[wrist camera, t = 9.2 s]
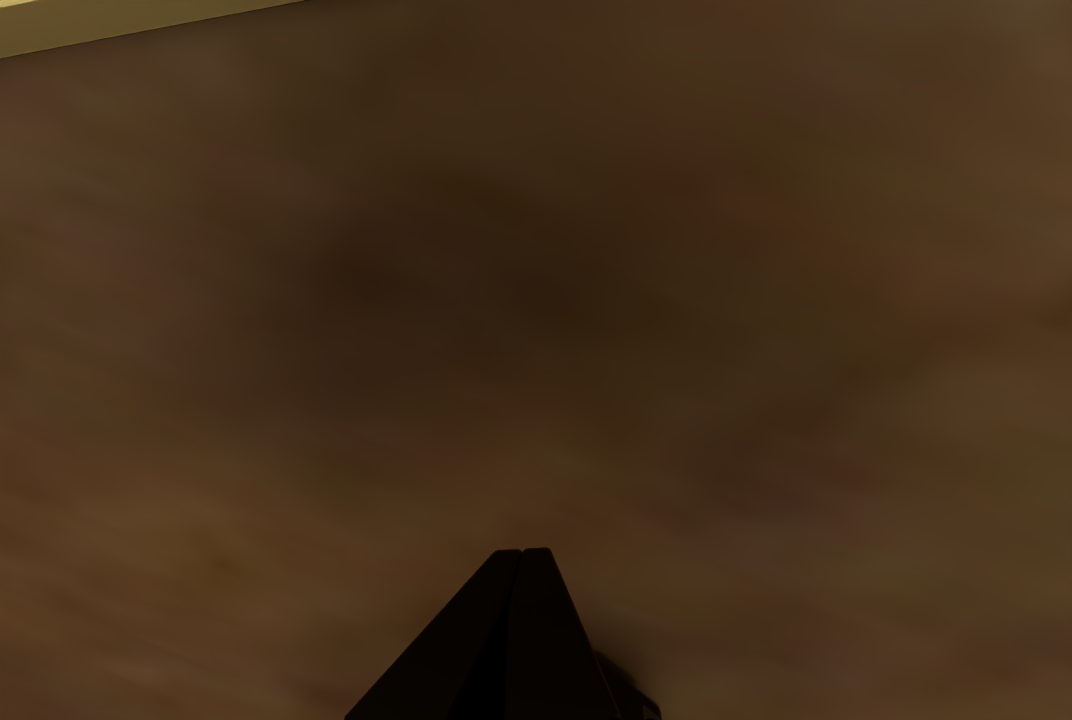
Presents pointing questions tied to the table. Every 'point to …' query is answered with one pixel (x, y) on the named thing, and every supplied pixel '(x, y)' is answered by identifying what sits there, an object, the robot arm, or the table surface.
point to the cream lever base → (102, 19)
